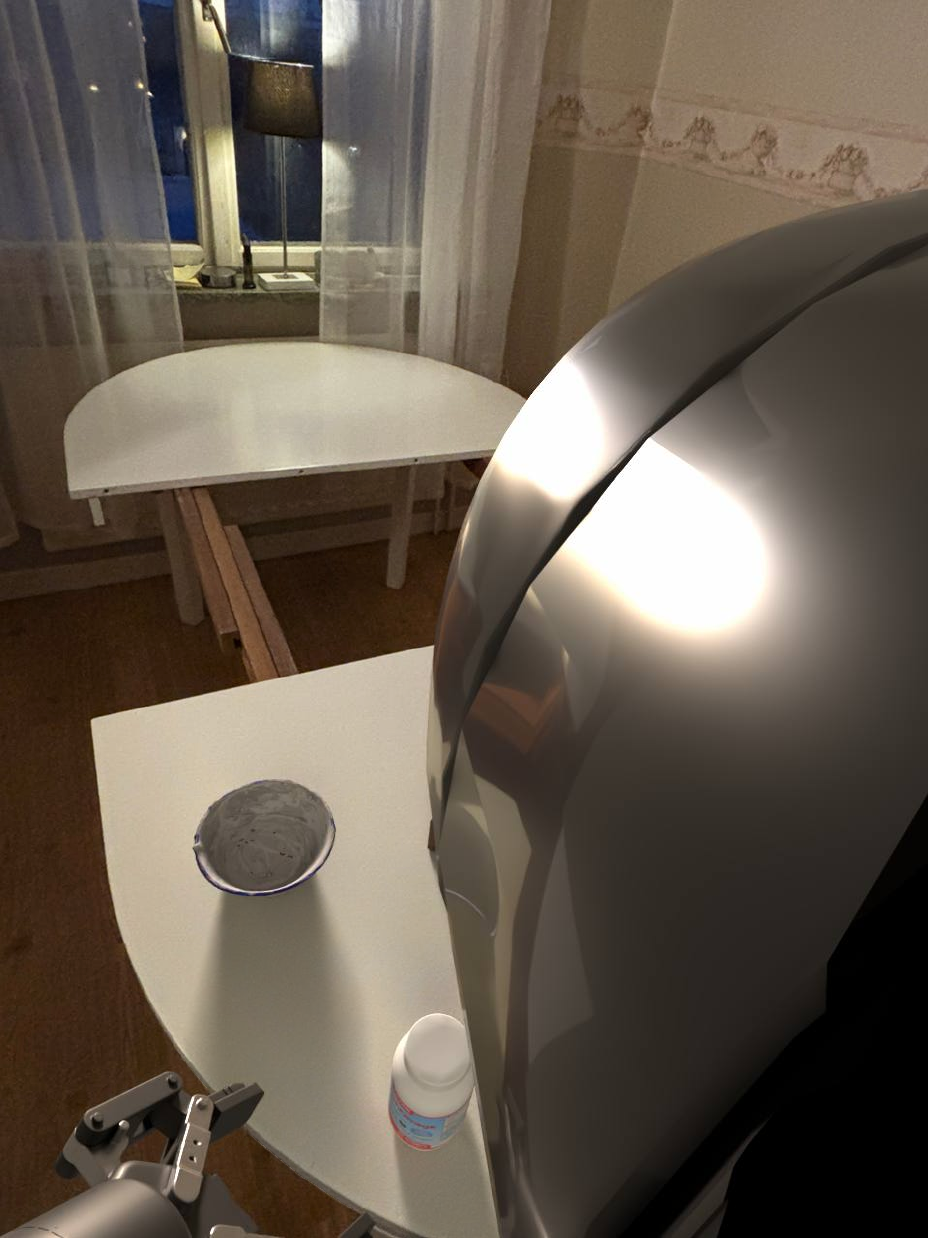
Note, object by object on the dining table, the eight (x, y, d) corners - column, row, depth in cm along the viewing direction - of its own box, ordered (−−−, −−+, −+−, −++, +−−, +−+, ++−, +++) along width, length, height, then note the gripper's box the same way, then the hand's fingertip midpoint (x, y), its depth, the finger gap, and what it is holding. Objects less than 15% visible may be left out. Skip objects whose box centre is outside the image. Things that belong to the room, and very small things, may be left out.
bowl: (231, 949, 65) (225, 920, 62) (180, 844, 73) (172, 813, 70) (359, 878, 72) (359, 849, 69) (300, 788, 80) (298, 759, 77)
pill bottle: (371, 1105, 57) (374, 1045, 50) (429, 1047, 61) (439, 983, 54) (425, 1174, 54) (436, 1120, 47) (482, 1109, 58) (500, 1049, 51)
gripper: (212, 1488, 21) (445, 1214, 35) (-24, 1105, 27) (255, 1006, 42) (72, 1721, 21) (363, 1350, 35) (-131, 1281, 27) (185, 1120, 42)
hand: (304, 1163), depth 38 cm, fingers open, 8 cm apart
